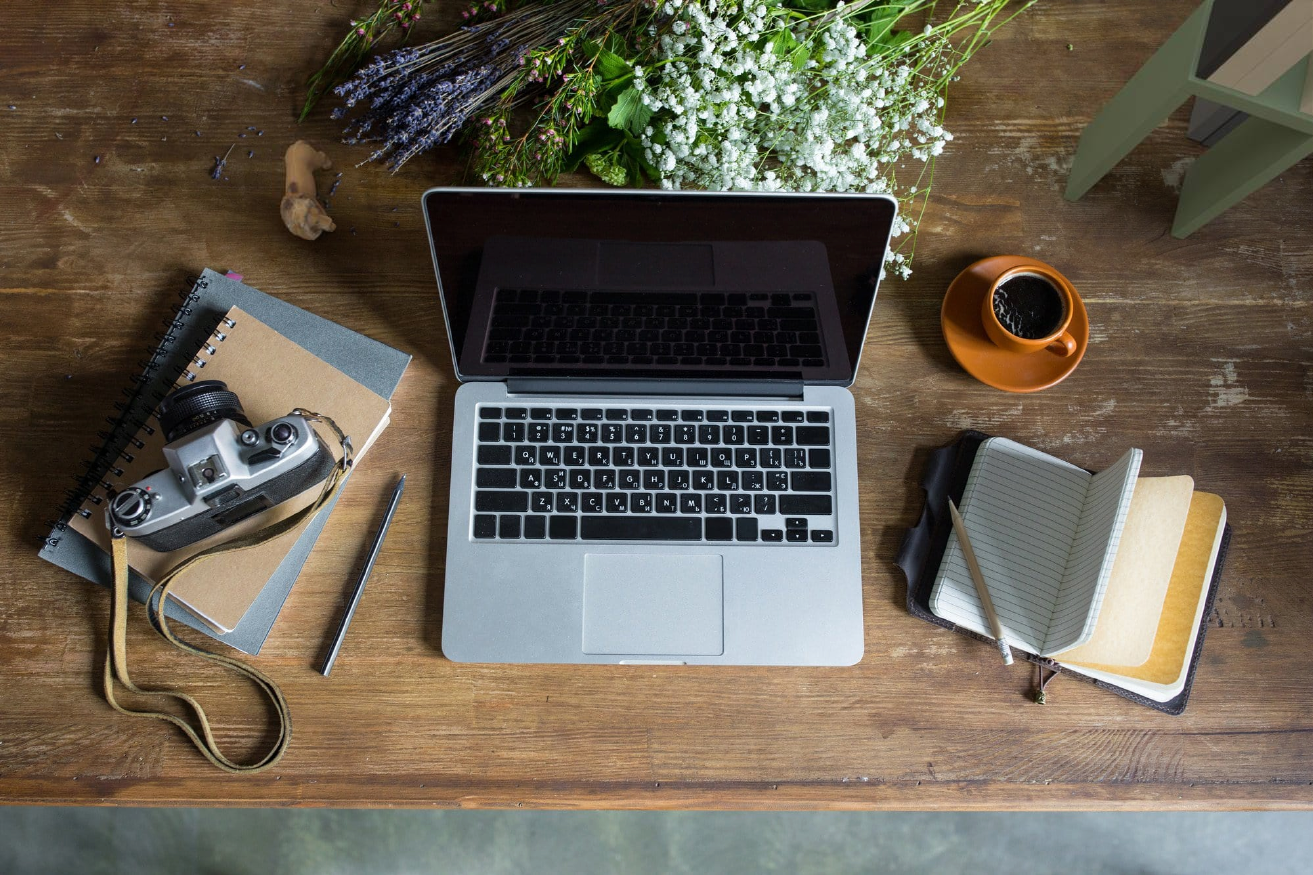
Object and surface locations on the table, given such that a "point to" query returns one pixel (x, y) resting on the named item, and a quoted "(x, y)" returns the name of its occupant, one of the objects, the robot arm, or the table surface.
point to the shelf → (1228, 165)
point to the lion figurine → (304, 192)
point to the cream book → (1308, 89)
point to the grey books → (1213, 121)
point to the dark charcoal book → (1254, 42)
